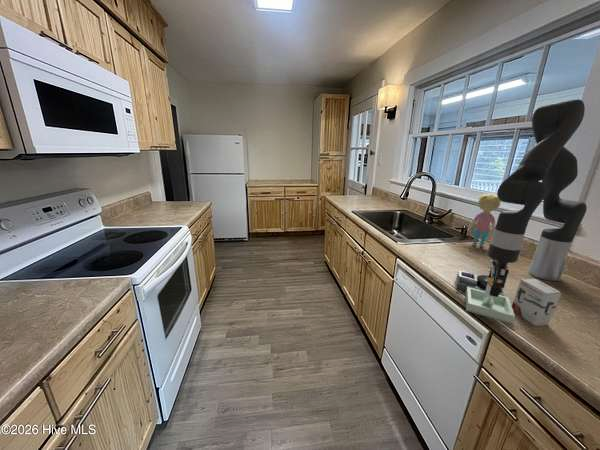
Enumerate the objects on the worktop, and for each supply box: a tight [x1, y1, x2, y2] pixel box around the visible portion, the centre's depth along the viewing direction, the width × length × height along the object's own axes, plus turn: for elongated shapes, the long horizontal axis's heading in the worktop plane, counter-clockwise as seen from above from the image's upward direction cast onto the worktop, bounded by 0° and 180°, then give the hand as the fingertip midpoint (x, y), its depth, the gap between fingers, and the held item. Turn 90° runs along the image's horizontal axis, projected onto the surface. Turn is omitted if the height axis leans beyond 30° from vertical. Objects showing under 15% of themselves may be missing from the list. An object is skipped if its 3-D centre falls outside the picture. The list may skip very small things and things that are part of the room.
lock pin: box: [481, 278, 500, 308], centre depth 81 cm, size 3×3×10 cm
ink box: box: [511, 278, 562, 327], centre depth 77 cm, size 9×5×12 cm, turn 5°
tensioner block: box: [455, 269, 505, 296], centre depth 92 cm, size 14×10×6 cm
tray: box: [464, 287, 516, 325], centre depth 82 cm, size 12×12×3 cm
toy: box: [466, 193, 502, 248], centre depth 131 cm, size 13×10×30 cm
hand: (491, 289), depth 80 cm, fingers open, 8 cm apart
